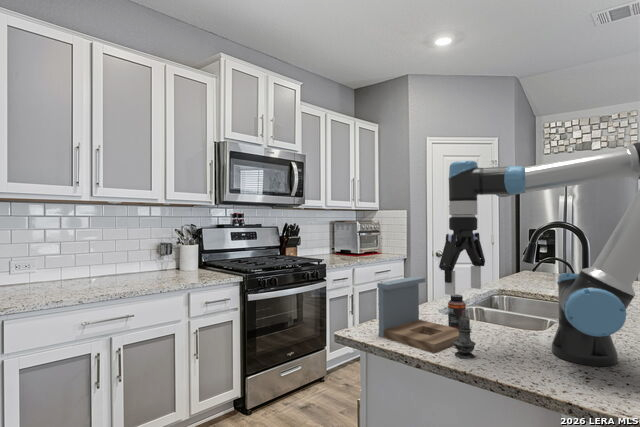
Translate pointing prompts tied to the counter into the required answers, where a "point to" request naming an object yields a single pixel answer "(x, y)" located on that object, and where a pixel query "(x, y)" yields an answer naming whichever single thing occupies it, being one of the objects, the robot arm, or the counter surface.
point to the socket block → (414, 335)
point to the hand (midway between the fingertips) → (463, 291)
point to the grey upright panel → (398, 302)
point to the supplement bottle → (455, 310)
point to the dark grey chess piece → (464, 339)
